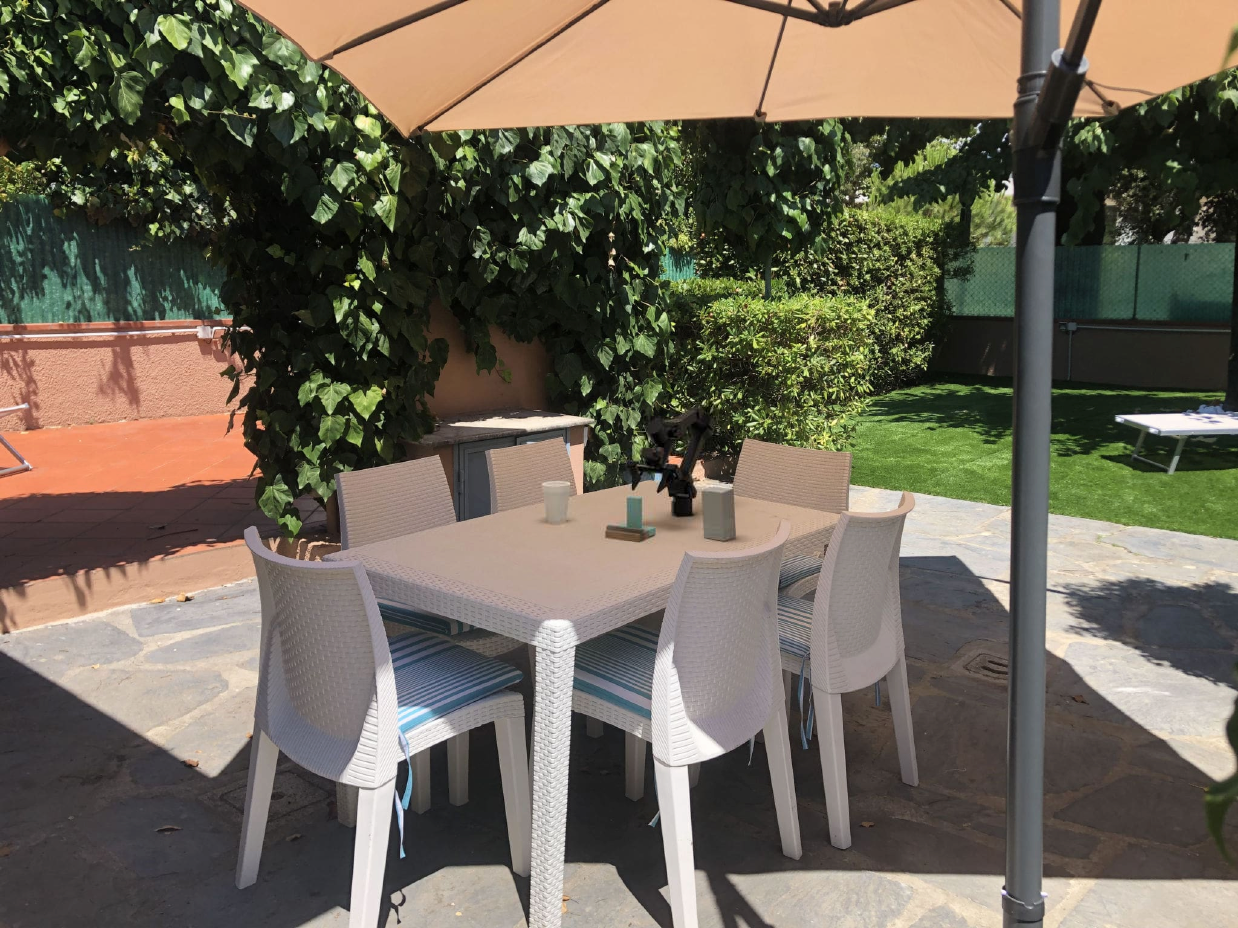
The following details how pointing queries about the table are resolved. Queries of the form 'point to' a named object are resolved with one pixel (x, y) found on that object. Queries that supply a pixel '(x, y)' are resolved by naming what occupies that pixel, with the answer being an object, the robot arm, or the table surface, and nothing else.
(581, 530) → the table surface
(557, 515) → the foam cup
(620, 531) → the board
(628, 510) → the teal t-shaped block
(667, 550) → the table surface
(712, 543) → the table surface
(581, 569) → the table surface
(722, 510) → the skincare box
